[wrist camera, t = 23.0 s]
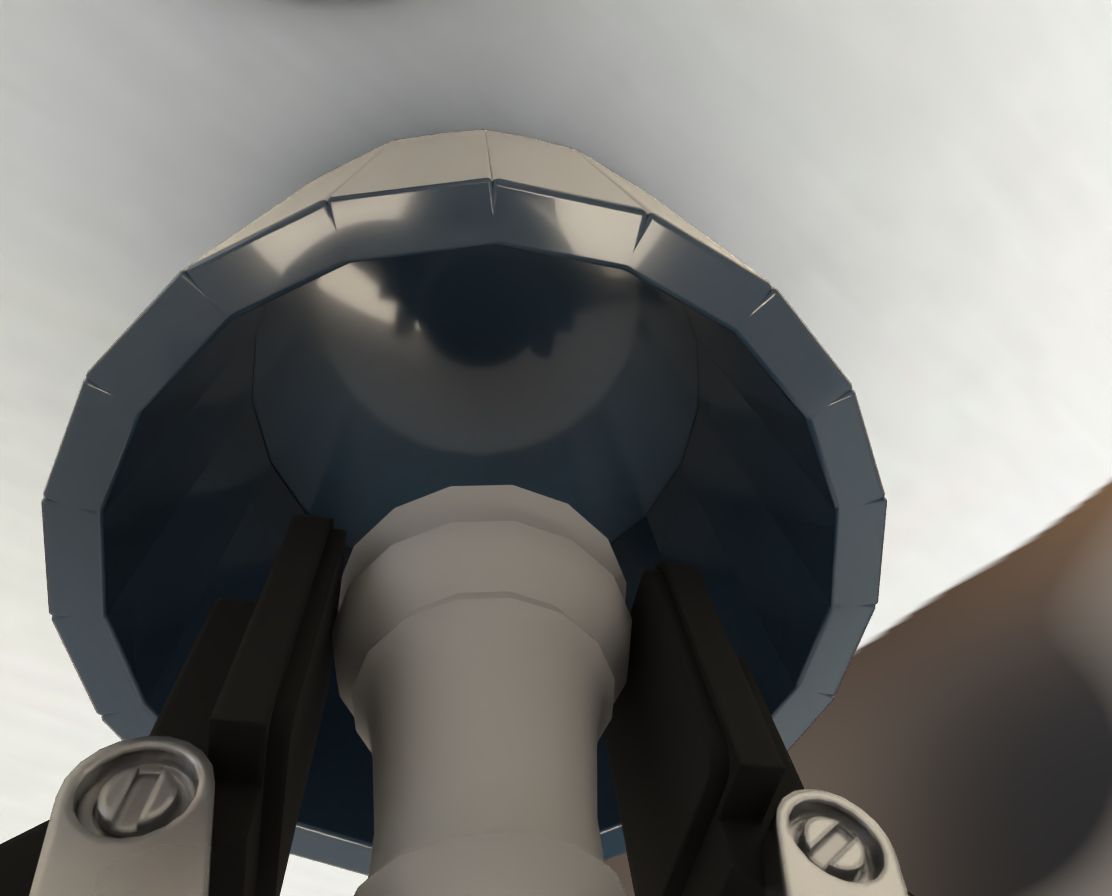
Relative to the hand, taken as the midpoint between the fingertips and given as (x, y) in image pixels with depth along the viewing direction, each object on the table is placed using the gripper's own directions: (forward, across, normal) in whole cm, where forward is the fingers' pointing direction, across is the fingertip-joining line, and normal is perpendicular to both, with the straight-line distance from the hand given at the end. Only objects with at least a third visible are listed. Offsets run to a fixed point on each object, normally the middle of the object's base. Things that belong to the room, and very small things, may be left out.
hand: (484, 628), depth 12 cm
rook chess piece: (+1, 0, 0) cm, 1 cm away
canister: (+10, 0, 0) cm, 10 cm away
